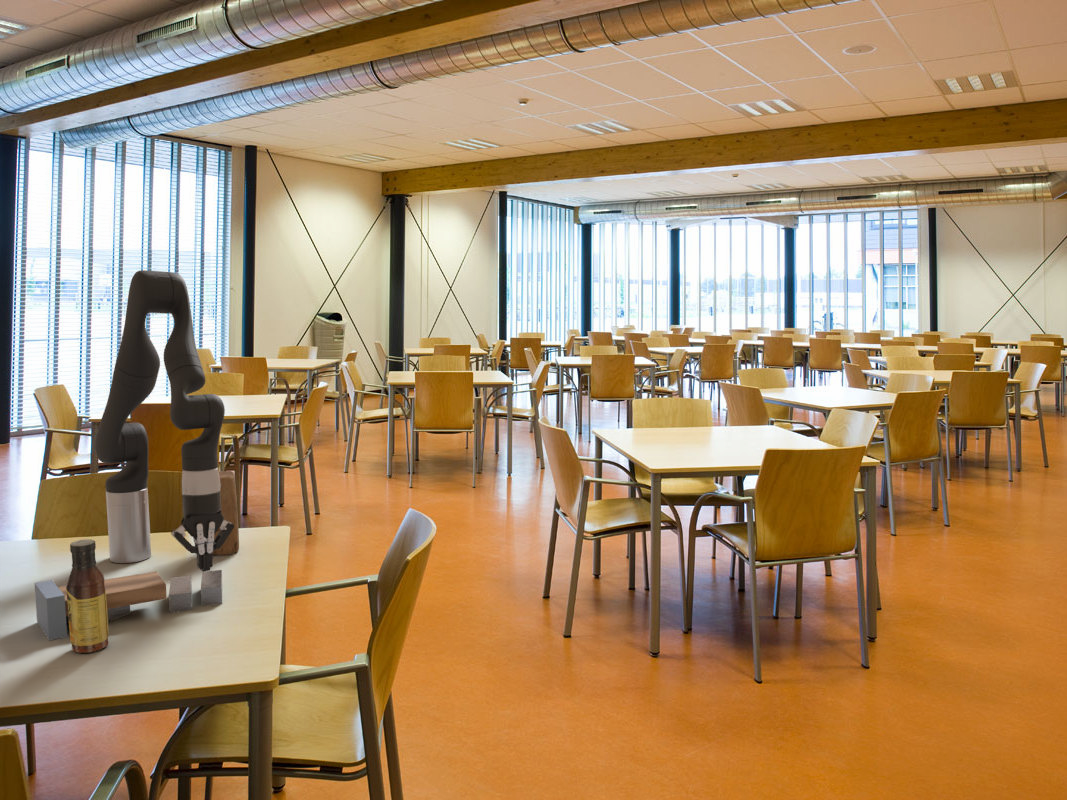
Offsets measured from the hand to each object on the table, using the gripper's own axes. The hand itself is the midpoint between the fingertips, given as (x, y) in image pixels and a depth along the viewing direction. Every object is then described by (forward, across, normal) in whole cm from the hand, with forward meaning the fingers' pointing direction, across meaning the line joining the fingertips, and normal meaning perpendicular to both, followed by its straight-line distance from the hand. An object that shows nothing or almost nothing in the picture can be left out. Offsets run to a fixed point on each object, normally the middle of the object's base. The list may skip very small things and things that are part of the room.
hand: (205, 570), depth 186 cm
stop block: (+6, +29, 0) cm, 30 cm away
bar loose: (+6, +21, +1) cm, 22 cm away
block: (+6, -15, -33) cm, 37 cm away
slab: (+2, +18, 0) cm, 18 cm away
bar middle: (+6, +5, 0) cm, 8 cm away
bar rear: (+6, -1, 0) cm, 6 cm away
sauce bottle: (+6, +26, +15) cm, 30 cm away
